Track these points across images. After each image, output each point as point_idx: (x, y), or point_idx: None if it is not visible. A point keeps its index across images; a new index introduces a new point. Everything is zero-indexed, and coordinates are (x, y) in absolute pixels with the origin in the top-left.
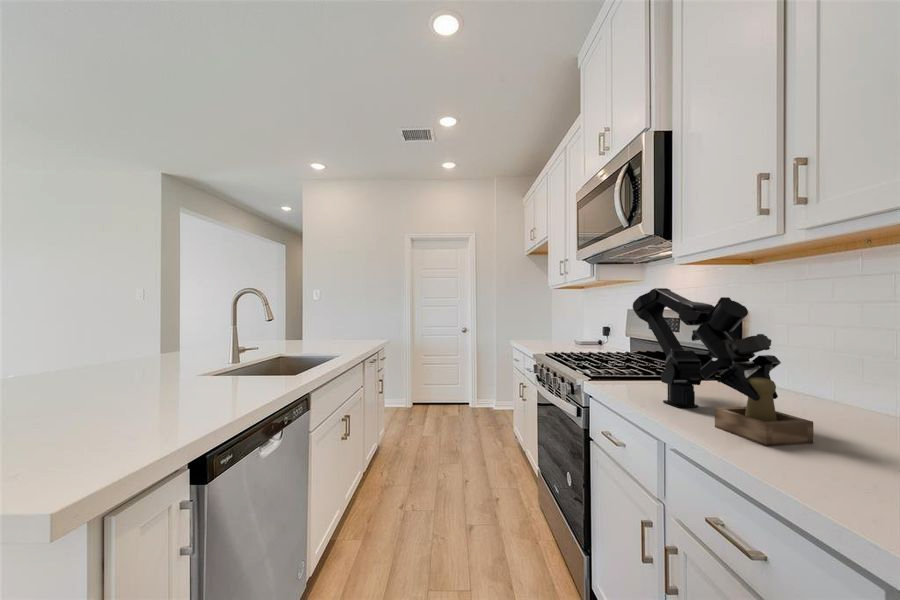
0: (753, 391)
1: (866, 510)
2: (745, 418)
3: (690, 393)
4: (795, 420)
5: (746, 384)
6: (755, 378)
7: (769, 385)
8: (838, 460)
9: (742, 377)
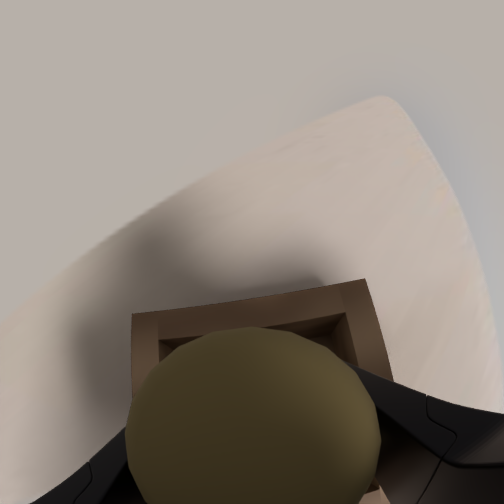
0: (373, 376)
1: (360, 115)
2: (388, 362)
3: None
4: (185, 332)
5: (428, 401)
6: (318, 459)
7: (262, 329)
8: (230, 228)
9: (480, 425)
